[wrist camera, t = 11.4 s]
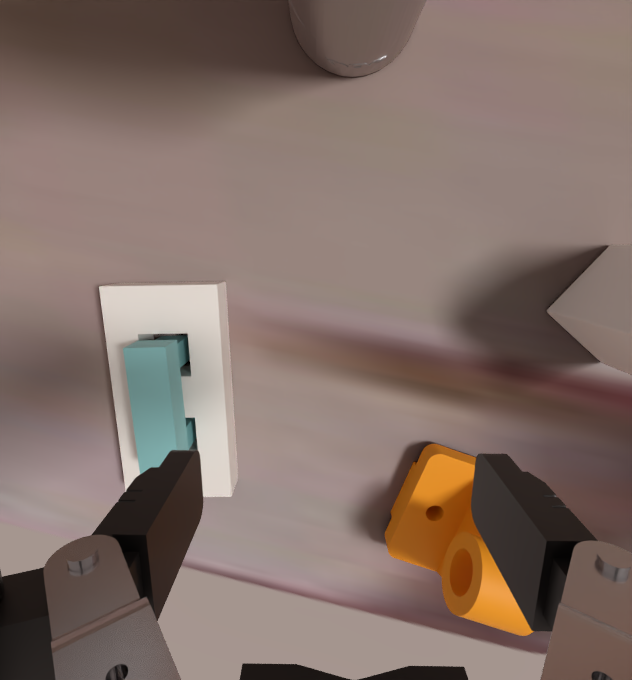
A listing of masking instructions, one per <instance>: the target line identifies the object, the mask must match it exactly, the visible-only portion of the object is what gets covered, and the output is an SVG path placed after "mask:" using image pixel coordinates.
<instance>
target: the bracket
mask: <svg viewBox="0 0 632 680" xmlns="http://www.w3.org/2000/svg"><path fill="white" fill-rule="evenodd" d="M475 462H476V457H473V456H470V455H467V454H464V453H461V452H458V451H455V450H452V449H450V448H447V447H444V446H441V445H438V444H430V445H428V446H426V447H425V448H424V449H423V451H422V453H421V455H420V457H419V459H418V462H413V464H412V466H411V468H410V471H409V473H408V475H407V477H406V479H405V482H404V484H403V486H402V488H401V490H400V492H399V495H398V497H397V499H396V501H395V503H394V506H393V508H392V510H391V516H392V518H391V520H390V522H389V525H388V527H387V529H386V531H385V539H386V544H387V548H388V552H389V554H390V555H391V556H392V557H394V558H396V559H399V560H403V561H406V562H409V563H412V564H415V565H418V566H421V567H424V568H427V569H430V570H433V571H437V572H438V574H439V575H440V576H441V577H442V589H443V595H444V599H445V602H446V604H447V606H448V608H449V610H450V611H451V612H452V613H453V614H454V615H457V616H460V617H463V618H466V619H469V620H472V621H476V622H479V623H482V624H485V625H488V626H491V627H495V628H498V629H501V630H504V631H507V632H510V633H514V634H517V635H520V636H525V635H529V634H531V633H532V632H533V631H532V630H531V628H530V627H529V625H528V623H527V621H526V619H525V617H524V615H523V614H522V612H521V610H520V608H519V606H518V604H517V602H516V600H515V599H514V597H513V595H512V593H511V591H510V589H509V587H508V586H507V584H506V582H505V580H504V578H503V576H502V574H501V572H500V571H499V569H498V567H497V565H496V563H495V561H494V559H493V558H492V556H491V554H490V552H489V550H488V548H487V546H486V544H485V543H484V541H483V539H482V537H481V535H480V533H479V531H478V529H477V528H476V526H475V523H474V521H473V517H472V511H471V498H472V489H473V479H474V470H475Z"/></svg>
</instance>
